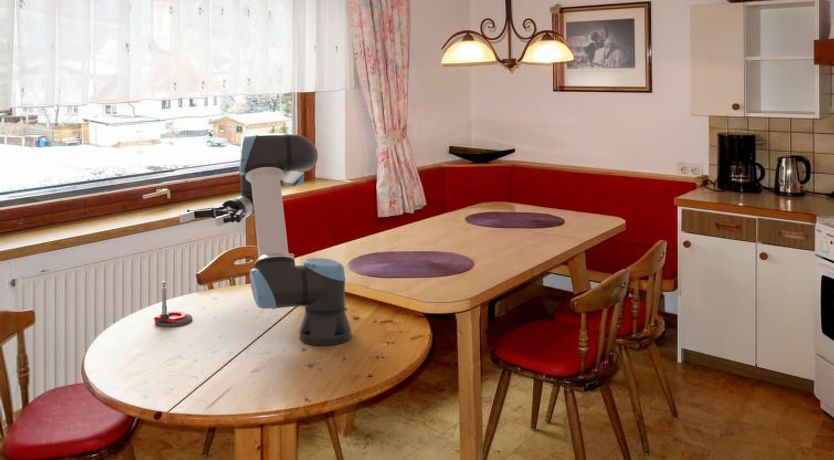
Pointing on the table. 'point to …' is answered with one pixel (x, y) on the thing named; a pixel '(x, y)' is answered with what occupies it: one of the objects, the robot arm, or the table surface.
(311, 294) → the robot arm
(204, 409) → the table surface
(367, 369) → the table surface
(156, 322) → the plate
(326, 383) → the table surface
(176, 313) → the tow hook
